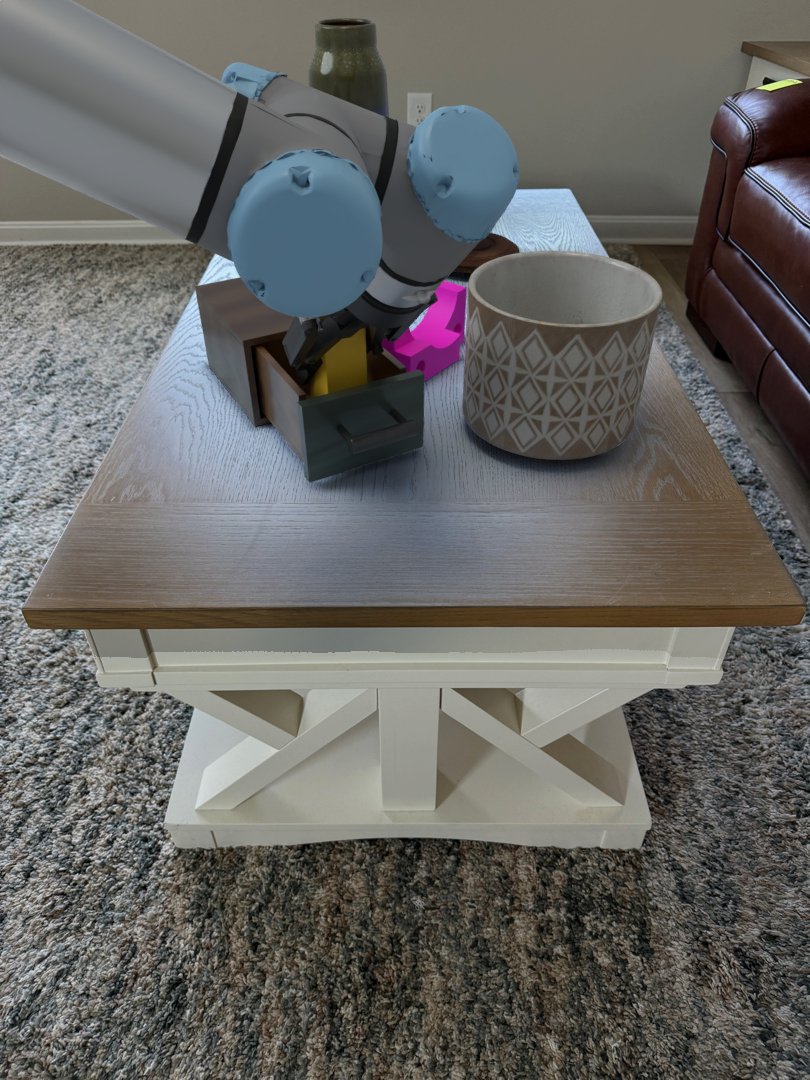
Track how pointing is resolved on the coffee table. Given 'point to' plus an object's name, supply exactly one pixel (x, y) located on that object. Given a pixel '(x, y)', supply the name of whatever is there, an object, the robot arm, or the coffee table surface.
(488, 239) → the brown rounded piece
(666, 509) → the coffee table surface
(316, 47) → the vase
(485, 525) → the coffee table surface
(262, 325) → the cabinet
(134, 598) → the coffee table surface
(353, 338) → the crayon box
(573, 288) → the planter
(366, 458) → the drawer
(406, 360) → the toy block
